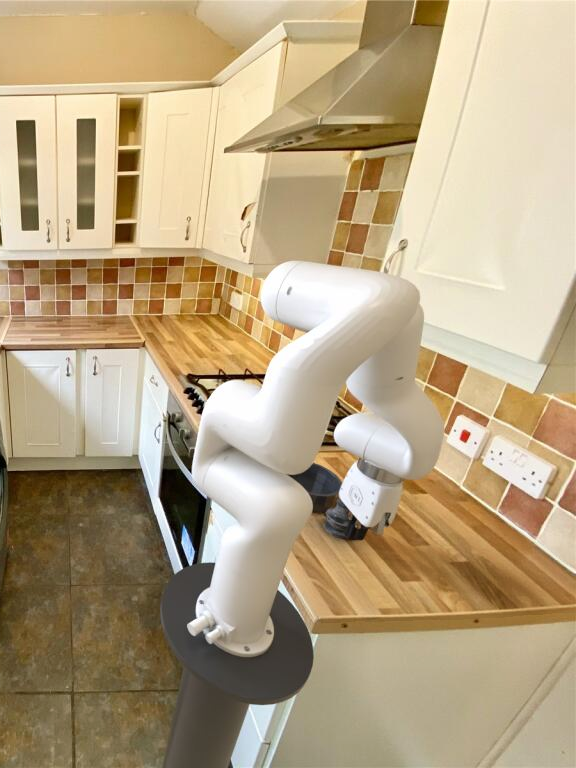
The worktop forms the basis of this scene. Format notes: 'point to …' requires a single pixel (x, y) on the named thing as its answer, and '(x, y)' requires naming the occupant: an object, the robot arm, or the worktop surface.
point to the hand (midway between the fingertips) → (353, 537)
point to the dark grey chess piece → (337, 519)
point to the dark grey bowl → (320, 486)
